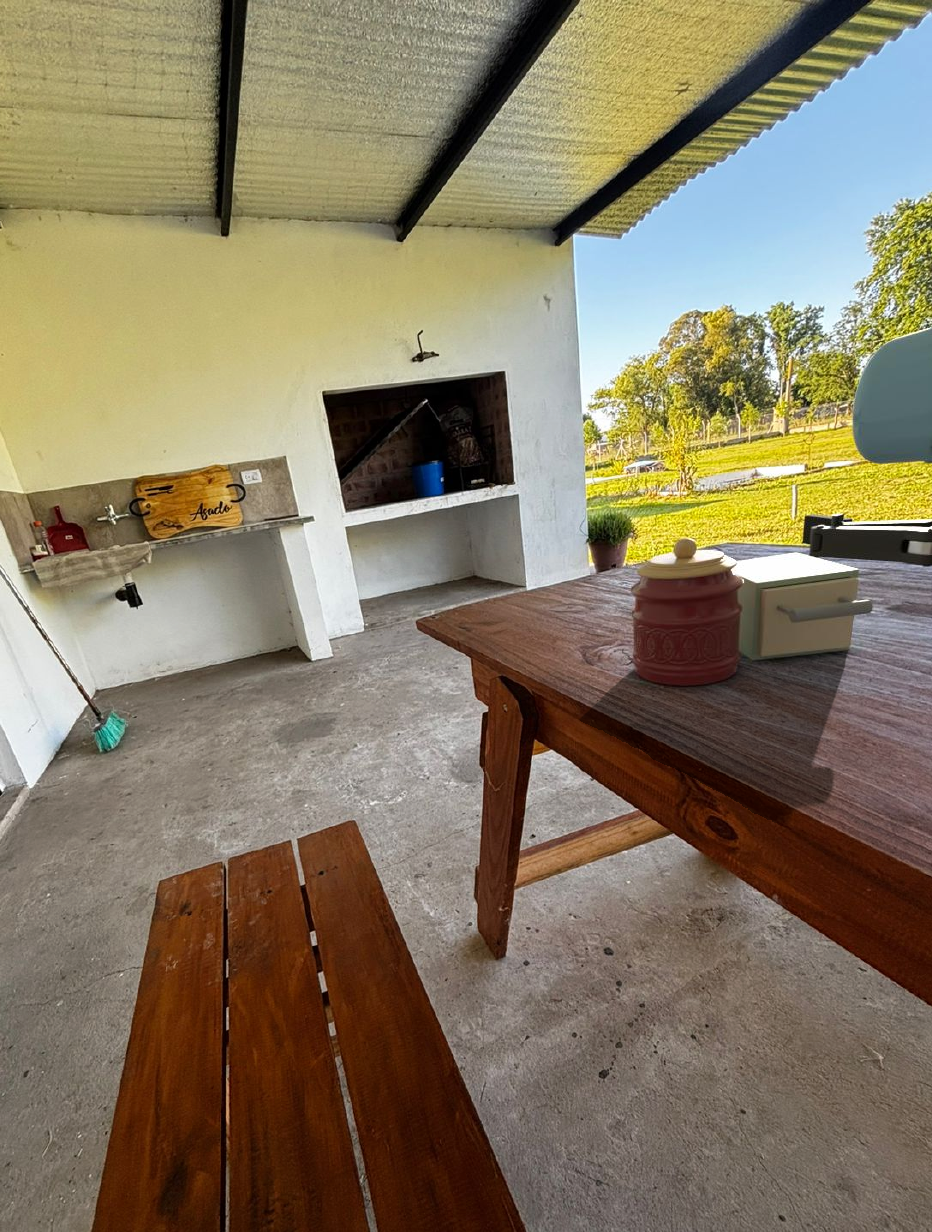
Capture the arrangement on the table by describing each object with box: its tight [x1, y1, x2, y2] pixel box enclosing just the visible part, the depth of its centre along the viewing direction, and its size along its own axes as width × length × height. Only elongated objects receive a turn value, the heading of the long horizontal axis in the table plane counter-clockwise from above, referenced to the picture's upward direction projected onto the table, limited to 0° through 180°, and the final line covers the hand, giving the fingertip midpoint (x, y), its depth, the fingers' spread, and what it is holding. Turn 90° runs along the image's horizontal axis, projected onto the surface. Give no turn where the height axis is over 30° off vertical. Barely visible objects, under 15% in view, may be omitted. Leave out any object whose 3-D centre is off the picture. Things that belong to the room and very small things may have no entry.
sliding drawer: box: [758, 577, 874, 656], centre depth 70 cm, size 18×10×9 cm, turn 172°
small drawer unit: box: [732, 552, 860, 661], centre depth 74 cm, size 15×12×11 cm
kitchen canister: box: [630, 537, 744, 687], centre depth 69 cm, size 13×13×18 cm
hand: (886, 518), depth 51 cm, fingers open, 13 cm apart
